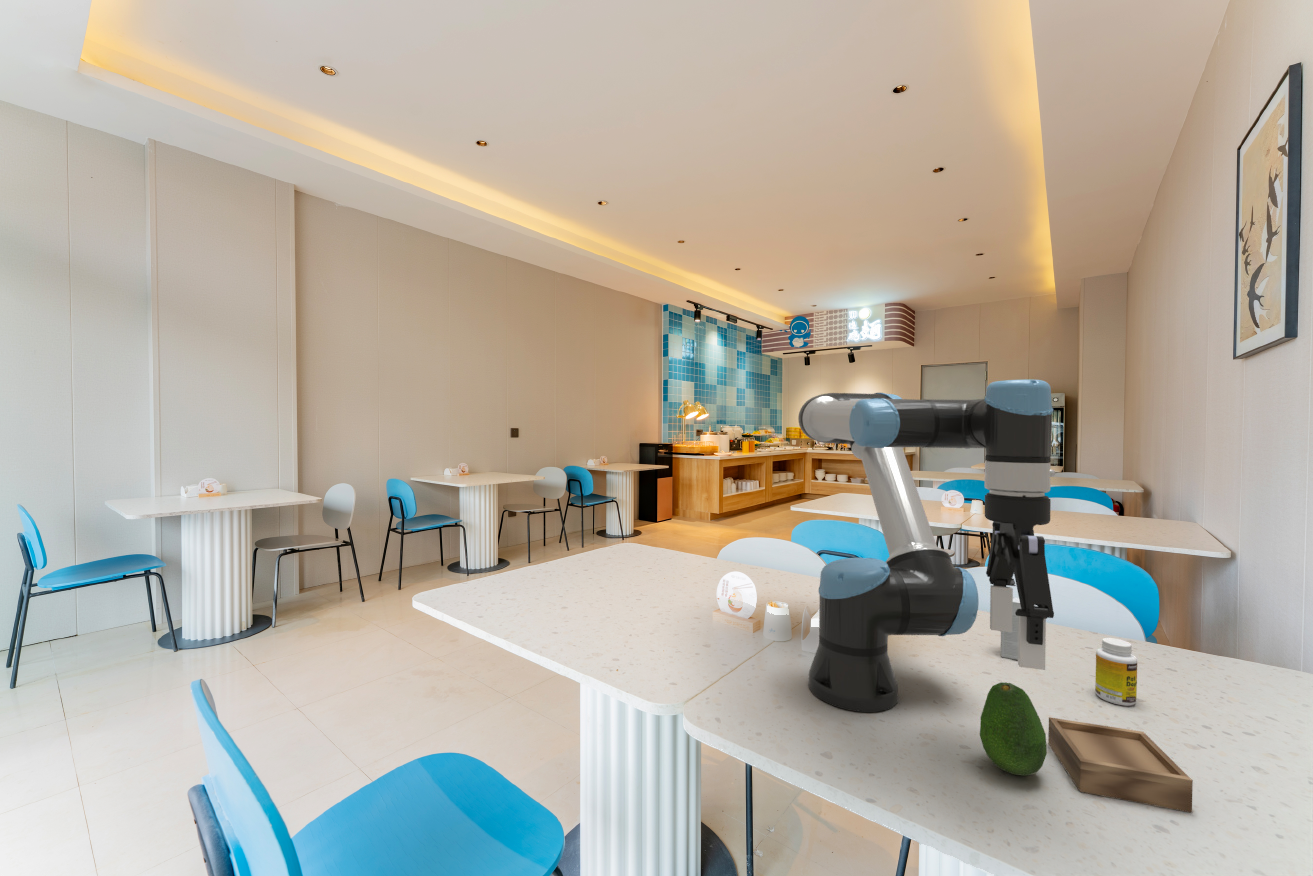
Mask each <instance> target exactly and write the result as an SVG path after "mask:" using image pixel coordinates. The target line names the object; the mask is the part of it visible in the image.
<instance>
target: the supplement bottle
mask: <svg viewBox="0 0 1313 876" xmlns="http://www.w3.org/2000/svg"><path fill="white" fill-rule="evenodd" d="M1095 651H1096V652H1095V680H1094V681H1095V685H1094V686H1095V687H1094V690H1095V694H1096V695H1097V697H1099V699H1102V700H1104V701H1105V702H1108V703H1111V704H1115V705H1119V706H1126V707H1127V706H1128V707H1129V706H1134V705H1135V704H1136V703H1137V689H1138V658H1137V657H1136V656H1135V655H1134V654H1132V652H1133V647H1132V644H1131V643H1130V642H1128V641H1126V640H1123V639H1120V638H1114V637H1104V638H1102V640H1101V647H1100V648H1099V647H1098V648H1097V649H1096V650H1095Z"/></svg>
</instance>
